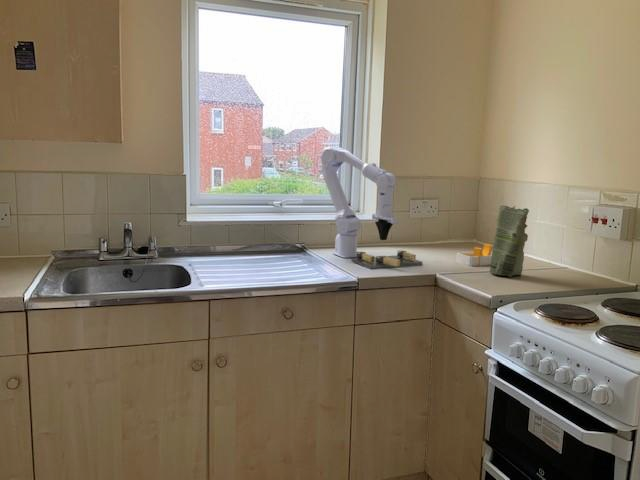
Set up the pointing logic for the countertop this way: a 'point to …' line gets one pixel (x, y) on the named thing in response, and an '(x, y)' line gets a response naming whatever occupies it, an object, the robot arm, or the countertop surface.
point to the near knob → (387, 261)
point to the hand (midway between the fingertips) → (383, 239)
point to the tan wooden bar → (365, 256)
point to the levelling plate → (377, 265)
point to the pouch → (509, 242)
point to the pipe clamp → (479, 252)
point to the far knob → (406, 255)
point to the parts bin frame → (473, 259)
